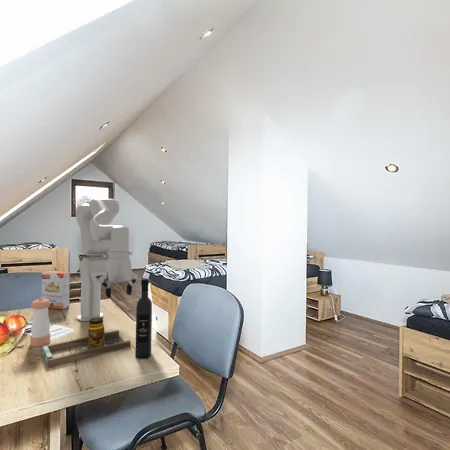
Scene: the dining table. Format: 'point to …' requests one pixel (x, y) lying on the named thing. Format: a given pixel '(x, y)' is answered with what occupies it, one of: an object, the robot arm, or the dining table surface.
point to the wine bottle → (143, 323)
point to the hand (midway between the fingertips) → (118, 295)
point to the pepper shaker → (40, 323)
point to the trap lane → (75, 356)
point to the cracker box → (56, 288)
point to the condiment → (95, 333)
